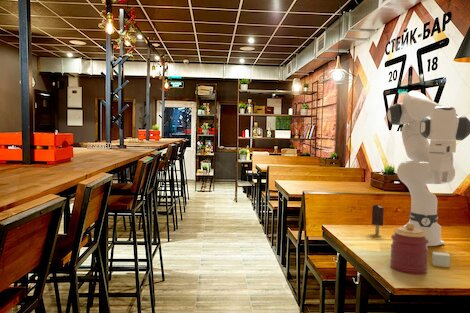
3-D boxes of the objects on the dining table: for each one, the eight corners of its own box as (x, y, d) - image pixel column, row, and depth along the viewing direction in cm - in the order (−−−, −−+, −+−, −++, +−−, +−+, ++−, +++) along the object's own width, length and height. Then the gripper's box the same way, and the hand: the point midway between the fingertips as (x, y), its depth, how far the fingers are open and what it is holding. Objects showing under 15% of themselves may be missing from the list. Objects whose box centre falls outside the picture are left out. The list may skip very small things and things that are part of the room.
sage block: (431, 262, 154) (432, 251, 154) (447, 264, 153) (447, 253, 152) (433, 265, 150) (434, 254, 150) (449, 267, 149) (450, 256, 149)
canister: (432, 277, 138) (435, 228, 137) (394, 274, 140) (396, 226, 139) (421, 264, 151) (423, 220, 150) (386, 262, 153) (388, 218, 152)
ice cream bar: (382, 234, 196) (383, 205, 195) (382, 235, 195) (383, 205, 194) (371, 233, 199) (373, 204, 198) (371, 233, 197) (372, 204, 196)
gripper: (441, 147, 160) (439, 180, 161) (426, 147, 145) (424, 184, 145) (458, 147, 156) (456, 181, 156) (444, 148, 141) (443, 185, 141)
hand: (441, 183), depth 151 cm, fingers open, 8 cm apart
